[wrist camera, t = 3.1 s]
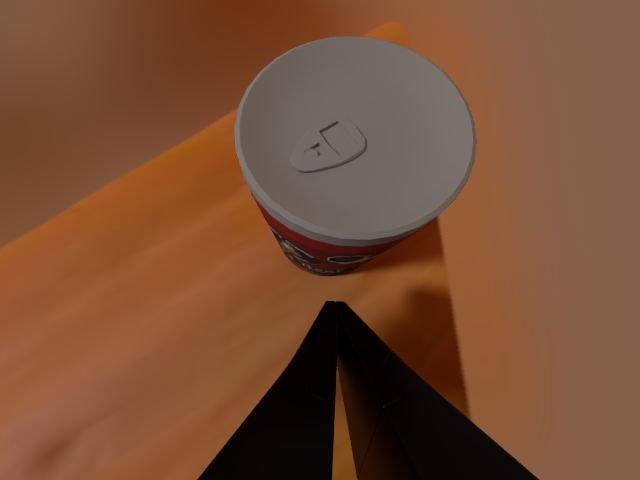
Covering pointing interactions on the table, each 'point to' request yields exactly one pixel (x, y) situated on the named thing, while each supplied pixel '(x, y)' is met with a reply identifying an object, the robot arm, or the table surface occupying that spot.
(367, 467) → the robot arm
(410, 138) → the canned food
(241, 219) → the table surface
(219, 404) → the table surface
